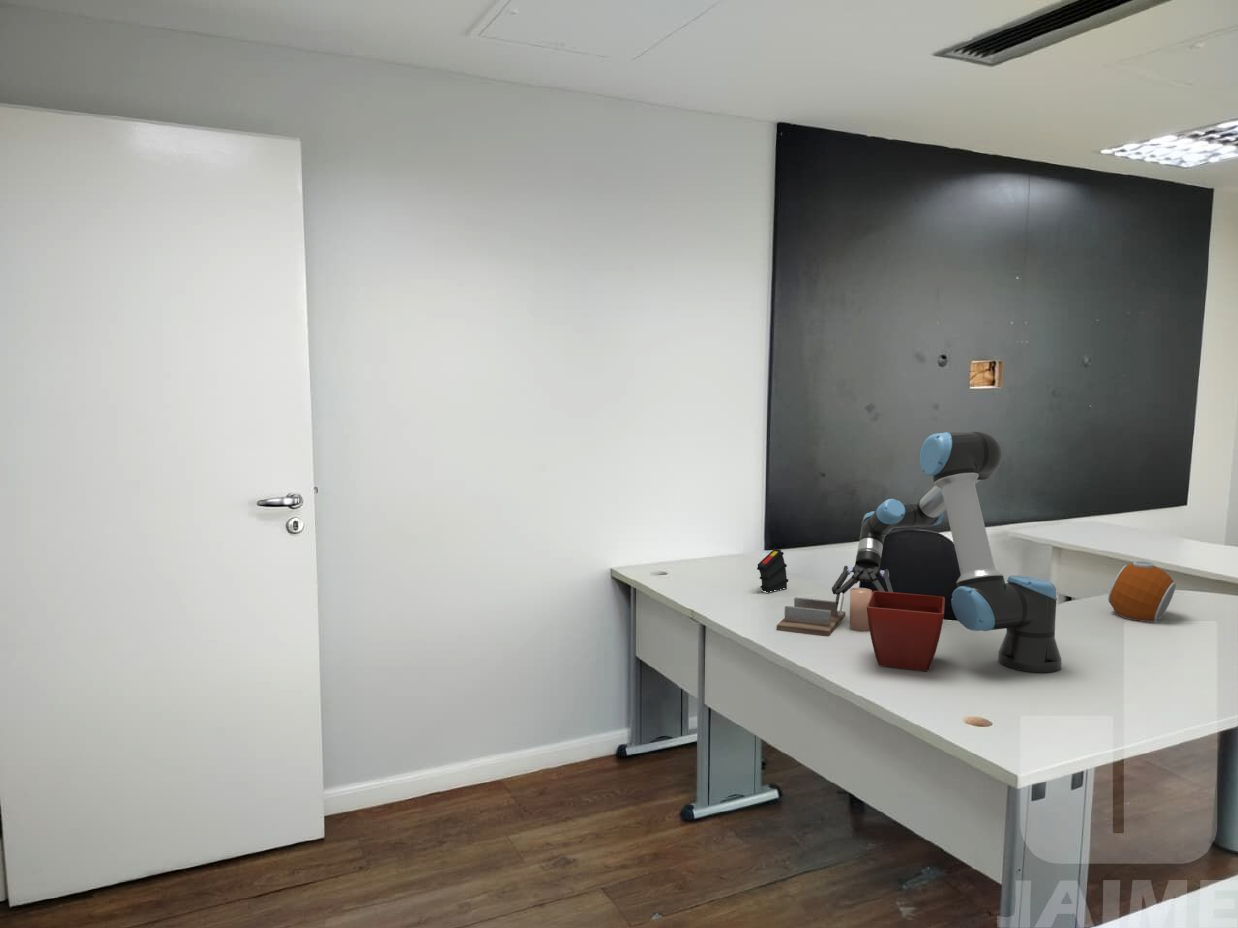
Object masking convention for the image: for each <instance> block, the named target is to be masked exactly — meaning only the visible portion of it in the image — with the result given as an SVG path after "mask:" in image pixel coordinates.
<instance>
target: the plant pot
mask: <svg viewBox="0 0 1238 928" xmlns="http://www.w3.org/2000/svg"><path fill="white" fill-rule="evenodd" d="M945 605H946V597H945V596H936V595H928V594H915V593H905V592H894V591H893V592H888V591H885V592H882V591H878V590H872V595H871V598H870V600H869V602H868V604H867V616H868V623H869V630H870V631H869V634H870V639H871V644H872V648H873V652H874V654H875V655H874V656H875V659H876V662H877V664H878V666H879V667H888V668H894V669H895V668H898V669H903V670H904V669H905V670H913V671H922V672H928V671H930V668H931V666H932V664H933V661H934V658H935V655H936V652H937V649H938V645H939V641H940V637H941V633H942V628H943V624H944V616H945Z"/></svg>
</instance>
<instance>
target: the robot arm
mask: <svg viewBox="0 0 1238 928" xmlns="http://www.w3.org/2000/svg"><path fill="white" fill-rule="evenodd" d="M1002 461H1003V449H1002V446H1001V444H1000V443H999V441H998V440H997V439H996V438H995V437H994V436H992V435H991V434H989V433H987V432H983V431H962V432H961V431H959V432H956V431H955V432H948V431H944V432H940V433H933V434H931V435H929V436H928V437H927V438H926V439H924V442H923V443H922V446H921V449H920V454H919V464H920V468H921V471H922V472H923V473H924V474H925V475H926V476H929V477H932V480H933V485H934V486H933V487H932V488H930V490H929V491H927V493H926V494H925V495H924V496H923V497H922V498H920V499H919V500H918V501H917V502H909V503H903V502H901V501H900V500H896V499H895V498H889V499H886V500H885V501H883V502H882V503H881V504H879V505H878V507H877V508H876V510H875V511H870V512H867V513H865V514H864V516H863V519H862V521H861V528H860V533H859V534H860V535H859V540H858V546H857V551H856V553H857V554H856V556H855V562H854V566H853V567H848V565H844V567H843V570H842V572H841V573H840V575H839V576H838V578H837V579H836V581H835V582H834V584H833V586H832V587H831V592H832V594H833V595H836V596H835V601H836V604H837V605H838V608H837V612H838V615H840V616H841V612H842V611H843V605H844V600H845V593H847V592H848V591H850V589H852V587H853V586H854V585H856V584H858V583H864V582H865V583H868V584H869V583H870V584H871V583H872V585H874V587H875V588H876V589H877V590H876V591H882V592H886V591H885V589H884V587H883V586H882V584H881V583H880V581H879V580H878V577H879V576H881V577H882V578H883V579H884V583H885V585H886V589H887V592H894V591H893V588H892V587H893V586H892V584H891V581H890V571H889V569H888V568H886V569H884V570H882V569H880V568H881V561H882V556H883V554H882V553H883V548H884V541H885V538H886V536H887V534H889V533H890V532H891V531H892V530H893V529H899V528H900V529H901V528H902V529H903V528H916V527H917V528H918V527H919V528H920V527H932V526H937V525H940V524H941V523H942V522H943V519H944V517H945V515H944V514H945V511H946V516H947V519H948V523H949V524H948V525H949V528H950V533H951V537H952V542H953V546H954V550H955V553H956V555H955V556H956V558H957V563H958V567H959V572H960V576H959V577H958V579H957V581H956V588H955V589H954V591H953V592H952V594H951V597H952V598H951V599H950V600H951V607H952V611H953V614H954V616H955V619H957V621H958V622H959V623H960V625H962V626H963V627H964V628H965V629H967V630H970V631H973V632H987V631H989V632H990V631H993V630H1004V629H1006V632H1005V636H1004V638H1003V640H1002V643H1001V645H1000V647H999V651H998V663H1000V664H1001V665H1003V666H1004V667H1007V668H1011V669H1014V670H1016V671H1017V670H1019V671H1022V672H1027V673H1028V672H1029V673H1053V672H1057V671H1059V670H1061V668H1062V657H1061V653H1060V650H1059V646H1058V644H1057V641H1056V637H1055V635H1056V615H1057V613H1056V612H1057V600H1058V598H1057V587H1056V586H1055V584H1054V583H1053V582H1051V581H1048V580H1045V579H1042V578H1037V577H1031V576H1026V575H1025V576H1024V575H1009V576H1008V577H1007V580H1006V582H1007V583H1006V582H1005V578H1004V575H1003V574H1002V573H1001V572H1000V571H999V570H996V567H995V562H994V558H993V555H992V550H991V546H990V542H989V538H988V537H989V536H988V534H987V530H986V525H985V521H984V517H983V513H982V509H981V505H980V501H979V497H978V493H977V492H978V491H977V489H976V484H977V483H979V482H980V481H986V480H987V479H990V477H991V476H993V475H994V474H995V473H996V472H997V471H998V469H999V468H1000V466H1001V464H1002ZM851 573H853V574H852V575H851ZM850 575H851V577H850V578H849V579H847V578H848V576H850ZM846 580H847V581H846ZM845 581H846V582H845Z"/></svg>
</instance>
